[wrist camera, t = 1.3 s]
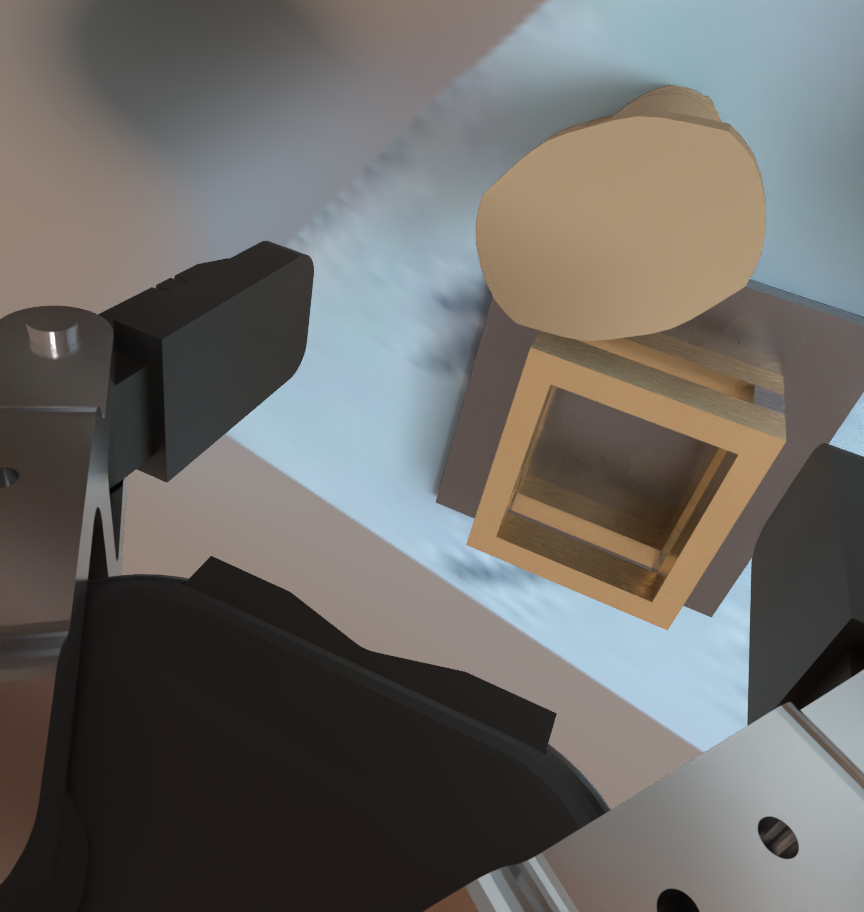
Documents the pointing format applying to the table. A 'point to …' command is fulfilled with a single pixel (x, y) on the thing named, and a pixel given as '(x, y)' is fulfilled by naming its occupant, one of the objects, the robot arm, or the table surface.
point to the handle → (625, 221)
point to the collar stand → (648, 445)
